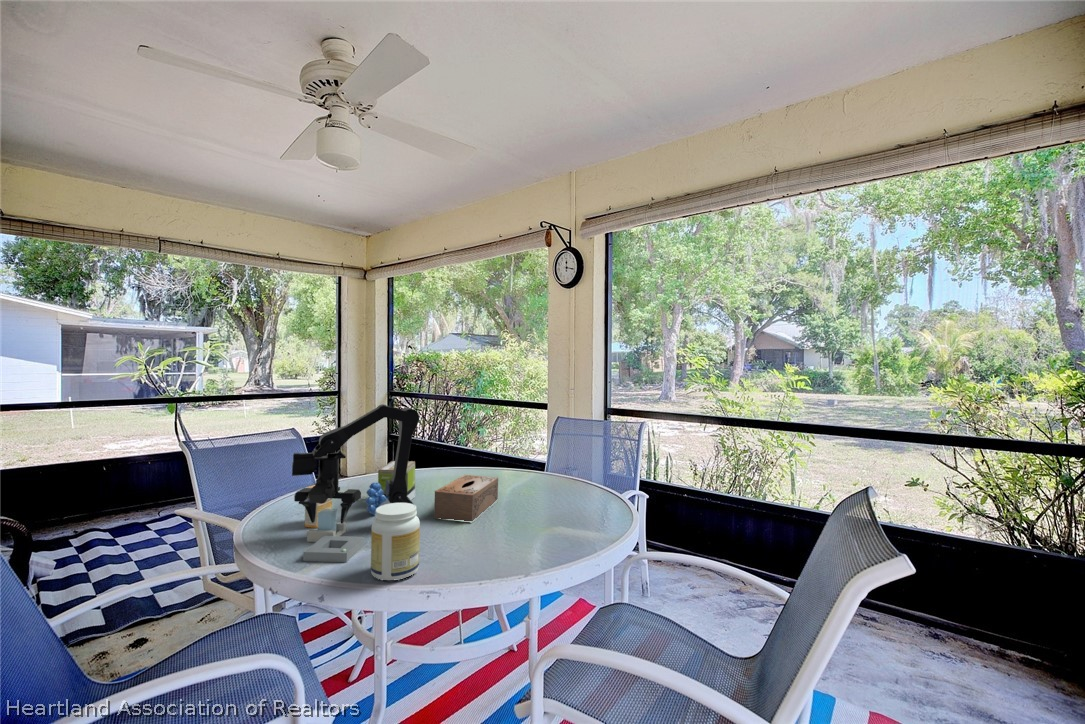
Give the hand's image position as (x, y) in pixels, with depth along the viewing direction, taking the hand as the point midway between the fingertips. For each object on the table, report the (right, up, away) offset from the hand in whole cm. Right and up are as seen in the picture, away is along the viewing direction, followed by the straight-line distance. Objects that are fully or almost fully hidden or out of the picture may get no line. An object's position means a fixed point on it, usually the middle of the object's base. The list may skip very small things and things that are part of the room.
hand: (327, 522), depth 148 cm
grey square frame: (0, -4, 0) cm, 4 cm away
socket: (+8, -5, -12) cm, 15 cm away
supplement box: (-8, -4, +11) cm, 14 cm away
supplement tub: (+28, -5, -24) cm, 37 cm away
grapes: (+8, -5, +21) cm, 23 cm away
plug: (0, -4, 0) cm, 4 cm away
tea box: (+10, -5, +37) cm, 38 cm away
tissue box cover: (+39, -6, +29) cm, 49 cm away
